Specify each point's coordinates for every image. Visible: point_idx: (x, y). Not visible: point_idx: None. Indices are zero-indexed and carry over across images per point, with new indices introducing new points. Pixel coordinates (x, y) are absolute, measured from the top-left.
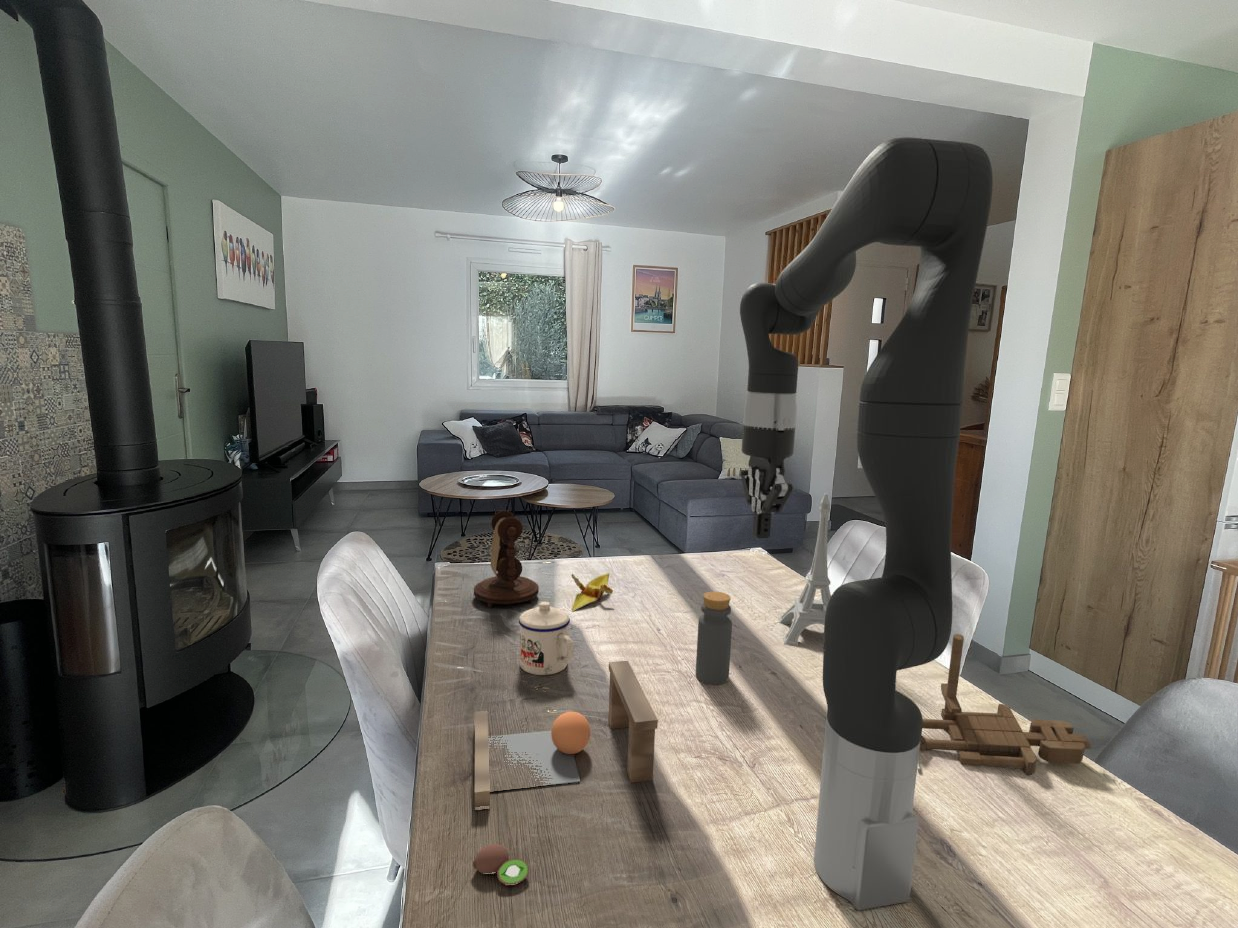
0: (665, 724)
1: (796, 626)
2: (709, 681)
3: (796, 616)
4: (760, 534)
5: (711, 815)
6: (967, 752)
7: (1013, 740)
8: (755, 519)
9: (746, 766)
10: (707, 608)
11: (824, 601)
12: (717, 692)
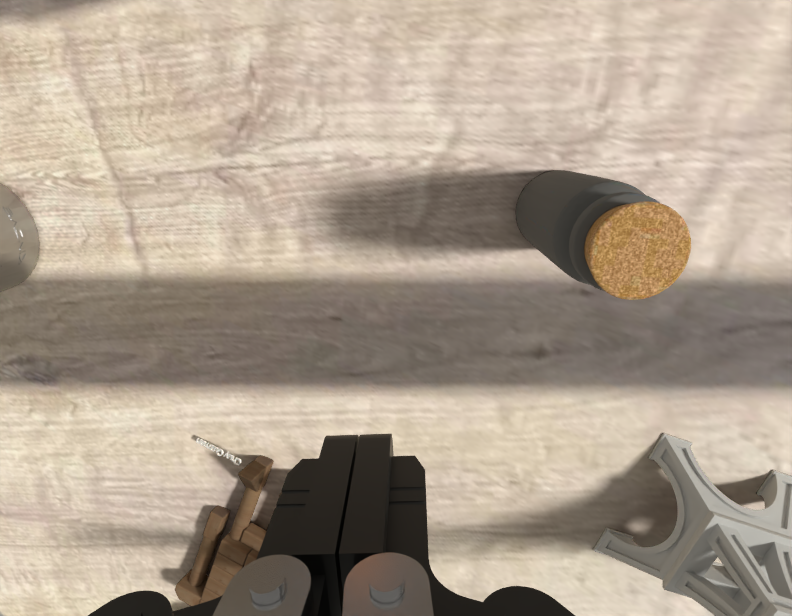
0: (370, 31)
1: (688, 484)
2: (522, 192)
3: (727, 505)
4: (300, 462)
5: (84, 44)
6: (217, 526)
7: (211, 599)
8: (346, 512)
9: (218, 162)
10: (607, 205)
11: (716, 591)
12: (483, 198)
